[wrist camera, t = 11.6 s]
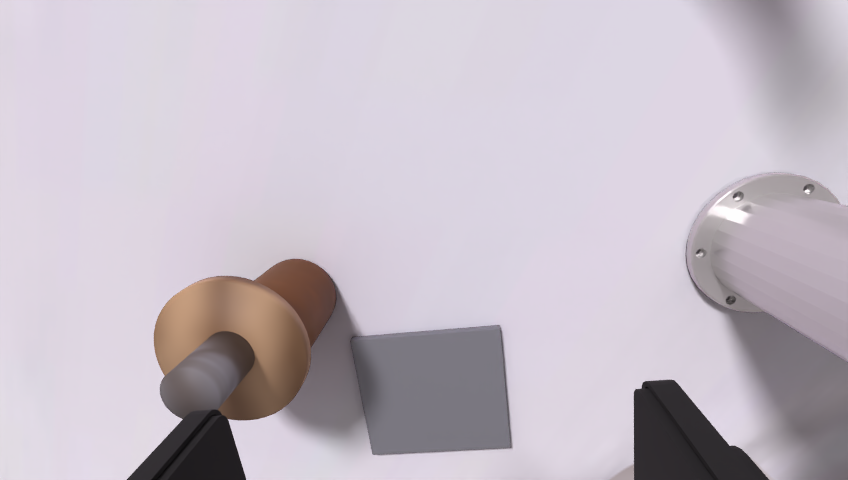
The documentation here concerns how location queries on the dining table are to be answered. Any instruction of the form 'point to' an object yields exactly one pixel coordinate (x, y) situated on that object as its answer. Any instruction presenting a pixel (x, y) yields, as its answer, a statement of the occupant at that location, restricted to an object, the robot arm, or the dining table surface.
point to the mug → (303, 292)
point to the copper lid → (230, 349)
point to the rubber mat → (433, 390)
